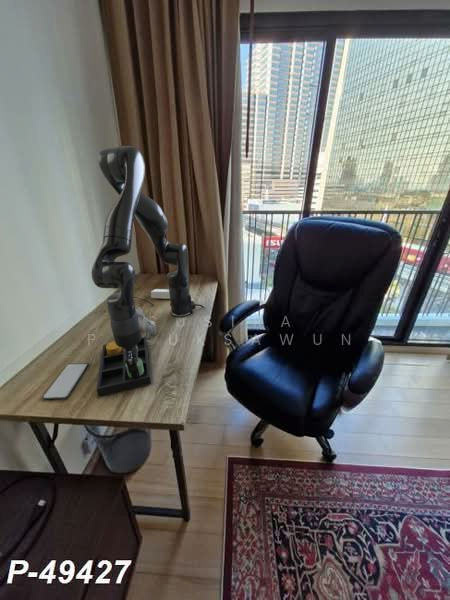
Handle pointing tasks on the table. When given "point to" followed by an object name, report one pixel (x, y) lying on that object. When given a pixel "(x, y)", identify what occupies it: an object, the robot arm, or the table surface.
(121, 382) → the grid
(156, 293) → the white box
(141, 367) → the green short cylinder
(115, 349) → the ochre token
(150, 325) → the dog figurine
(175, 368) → the table surface
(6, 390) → the table surface
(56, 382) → the smartphone
